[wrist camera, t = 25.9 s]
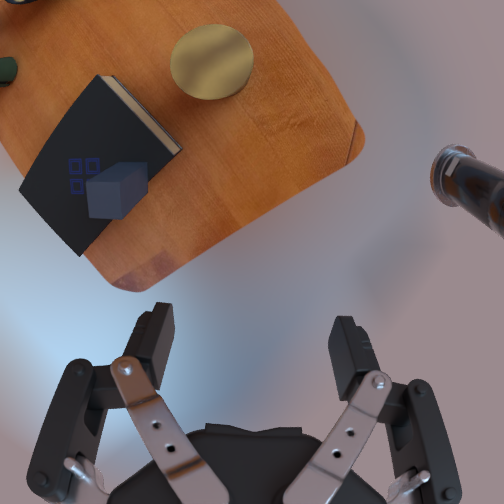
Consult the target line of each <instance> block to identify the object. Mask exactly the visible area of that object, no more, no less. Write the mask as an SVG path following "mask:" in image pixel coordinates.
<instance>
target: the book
mask: <svg viewBox="0 0 504 504" xmlns="http://www.w3.org/2000/svg"><path fill="white" fill-rule="evenodd" d="M182 149H183V148H182V147H181V146H180V145H179V144H178V143H177V142H176V141H175V140H174V139H173V138H172V137H171V136H170V134H169V133H168V132H167V131H166V130H165V129H164V128H163V127H162V126H161V125H160V124H159V123H158V122H157V121H156V120H155V118H154V117H153V116H152V115H151V114H150V113H149V112H148V111H147V110H146V109H145V108H144V107H143V106H142V105H141V104H140V103H139V101H138V100H137V99H136V98H135V97H134V96H133V95H132V94H131V93H130V92H129V91H128V90H127V89H126V88H125V87H124V86H123V85H122V84H121V83H120V82H119V80H118V79H117V78H116V77H115V76H113V75H112V76H100V75H98V74H97V75H96V76H95V77H94V78H93V80H92V81H91V82H90V83H89V84H88V86H87V87H86V88H85V89H84V91H83V92H82V93H81V94H80V96H79V97H78V98H77V99H76V101H75V102H74V103H73V105H72V106H71V107H70V109H69V110H68V111H67V113H66V114H65V115H64V117H63V118H62V120H61V121H60V122H59V124H58V125H57V127H56V128H55V130H54V131H53V133H52V134H51V136H50V137H49V139H48V140H47V142H46V143H45V145H44V146H43V148H42V150H41V151H40V153H39V154H38V156H37V158H36V159H35V161H34V163H33V165H32V166H31V168H30V170H29V172H28V173H27V175H26V177H25V179H24V181H23V183H22V185H21V186H20V188H19V191H20V193H21V194H22V195H23V196H24V198H25V199H26V200H27V201H28V202H29V204H30V205H31V206H32V207H33V208H34V209H35V210H36V211H37V213H38V214H39V215H40V216H41V217H42V218H43V219H44V221H45V222H46V223H47V224H48V225H49V226H50V227H51V228H52V229H53V230H54V231H55V233H56V234H57V235H58V236H59V237H60V238H61V239H62V240H63V241H64V242H65V243H66V244H67V245H68V246H69V247H70V248H71V249H72V250H73V251H74V252H75V253H76V254H77V255H78V256H79V257H80V256H81V255H82V254H83V253H84V251H85V250H86V249H87V248H88V247H89V245H90V244H91V243H93V242H94V240H95V239H96V238H97V237H98V236H99V235H100V233H101V232H102V231H103V230H104V229H105V228H106V227H107V225H108V224H109V223H110V222H111V221H112V220H113V219H101V218H89V210H88V200H87V190H86V182H87V181H88V180H90V179H91V178H93V177H95V176H96V175H98V174H100V173H101V172H103V171H104V170H106V169H108V168H110V167H111V166H113V165H115V164H116V163H118V162H147V170H148V182H149V181H150V180H151V179H152V178H153V177H154V176H155V175H156V174H157V173H158V172H159V171H160V170H161V169H162V168H163V167H164V166H165V165H166V164H167V163H168V162H169V161H171V160H172V159H173V158H174V157H175V156H176V155H177V154H178V153H179V152H180V151H181V150H182Z"/></svg>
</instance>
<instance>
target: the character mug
mask: <svg viewBox="0 0 504 504" xmlns="http://www.w3.org/2000/svg"><path fill="white" fill-rule="evenodd" d="M16 72H17V64H16V61H15V60H14V58H13V57H4V58H0V87H6V86H9V85H10V84H6V83H7V82H8V81H13V80H14V78H15V76H16Z"/></svg>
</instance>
